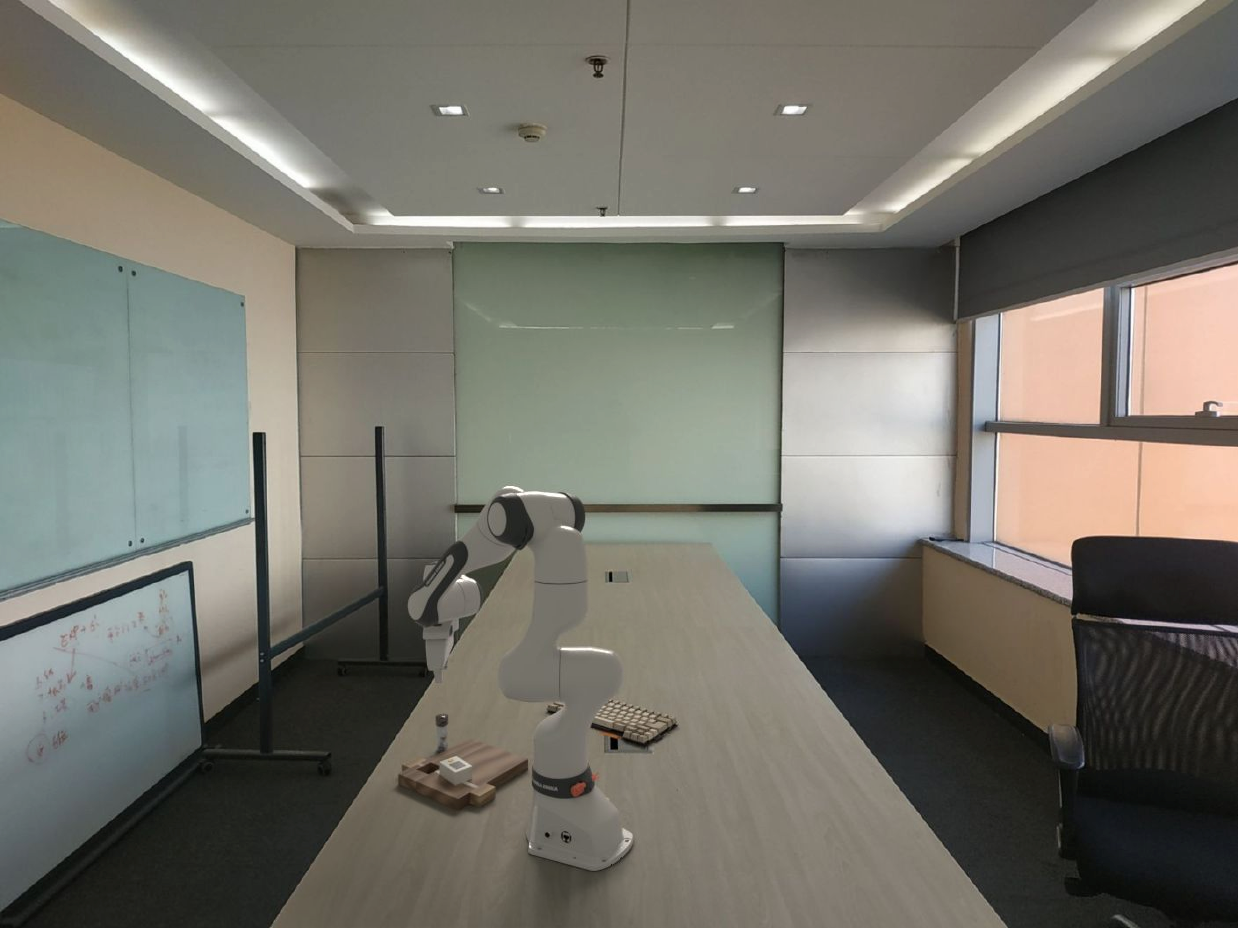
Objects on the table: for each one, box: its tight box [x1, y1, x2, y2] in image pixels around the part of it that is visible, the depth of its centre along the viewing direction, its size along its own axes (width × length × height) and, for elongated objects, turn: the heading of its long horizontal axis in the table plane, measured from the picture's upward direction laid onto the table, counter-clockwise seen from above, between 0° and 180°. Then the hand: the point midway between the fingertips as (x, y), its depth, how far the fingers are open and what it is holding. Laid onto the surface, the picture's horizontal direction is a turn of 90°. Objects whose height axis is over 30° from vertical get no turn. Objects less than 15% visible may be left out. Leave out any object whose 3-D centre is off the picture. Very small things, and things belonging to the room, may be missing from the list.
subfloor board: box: [397, 738, 529, 811], centre depth 175 cm, size 26×23×2 cm
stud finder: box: [439, 756, 472, 785], centre depth 170 cm, size 7×4×3 cm, turn 44°
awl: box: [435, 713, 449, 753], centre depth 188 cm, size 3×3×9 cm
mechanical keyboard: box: [545, 698, 679, 749], centre depth 209 cm, size 38×19×3 cm, turn 55°
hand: (441, 675), depth 188 cm, fingers open, 8 cm apart
